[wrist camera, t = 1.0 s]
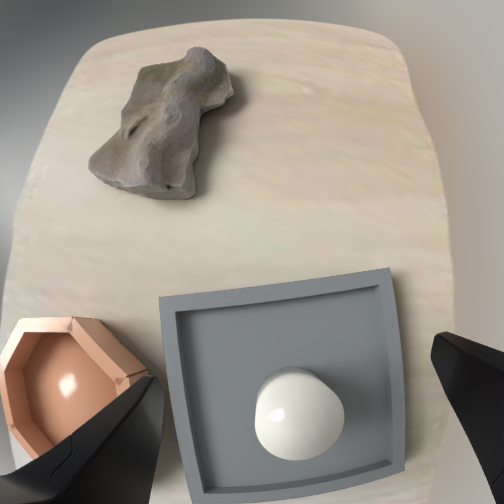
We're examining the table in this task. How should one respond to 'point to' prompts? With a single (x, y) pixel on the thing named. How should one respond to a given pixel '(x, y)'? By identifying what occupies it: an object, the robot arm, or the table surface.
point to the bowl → (61, 377)
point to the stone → (163, 127)
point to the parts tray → (277, 357)
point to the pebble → (297, 414)
